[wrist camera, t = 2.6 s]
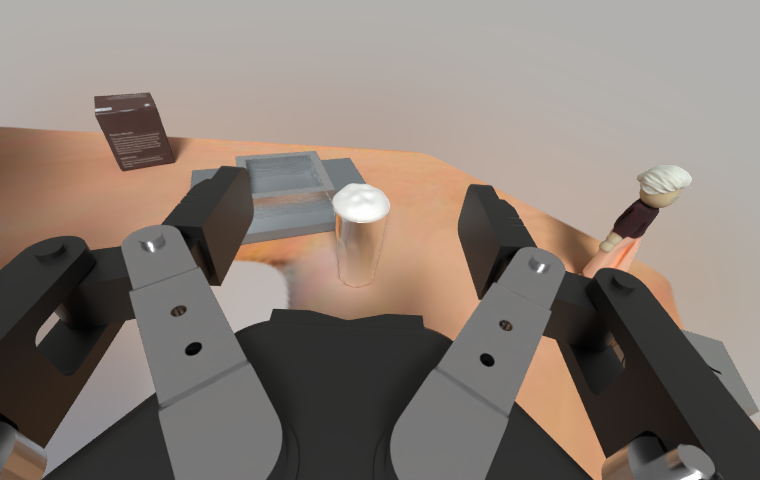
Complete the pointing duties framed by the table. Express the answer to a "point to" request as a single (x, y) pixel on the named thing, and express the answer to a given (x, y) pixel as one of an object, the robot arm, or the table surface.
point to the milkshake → (359, 231)
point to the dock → (291, 192)
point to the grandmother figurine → (638, 218)
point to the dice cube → (717, 368)
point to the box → (133, 130)
